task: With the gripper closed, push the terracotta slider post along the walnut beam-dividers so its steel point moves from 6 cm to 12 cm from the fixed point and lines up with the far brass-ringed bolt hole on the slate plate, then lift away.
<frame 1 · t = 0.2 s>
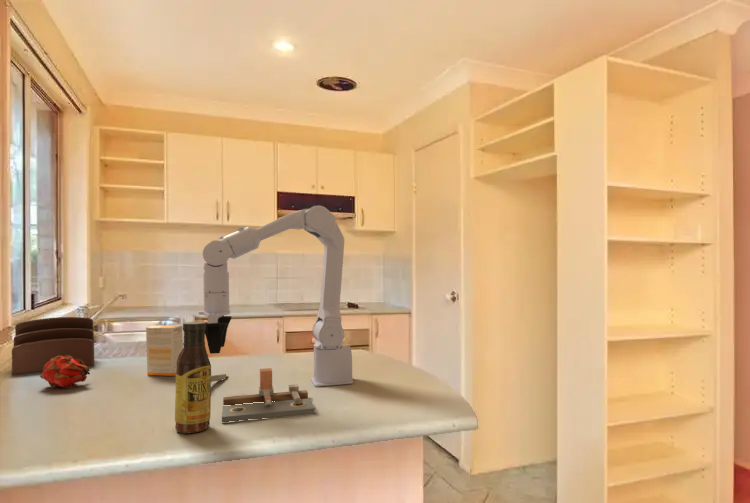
hand: (217, 349, 117), 10 cm above the countertop, fingers open, 7 cm apart
dragon fruit: (66, 387, 123), on the countertop
caliper: (208, 389, 121), on the countertop
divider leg: (266, 386, 106), point 4 cm above the countertop, slide at 0.0 cm
supplement box: (165, 374, 135), on the countertop
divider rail: (266, 401, 109), on the countertop
sauce bottle: (193, 429, 93), on the countertop
bolt plate: (268, 413, 101), on the countertop
letter holder: (55, 367, 145), on the countertop
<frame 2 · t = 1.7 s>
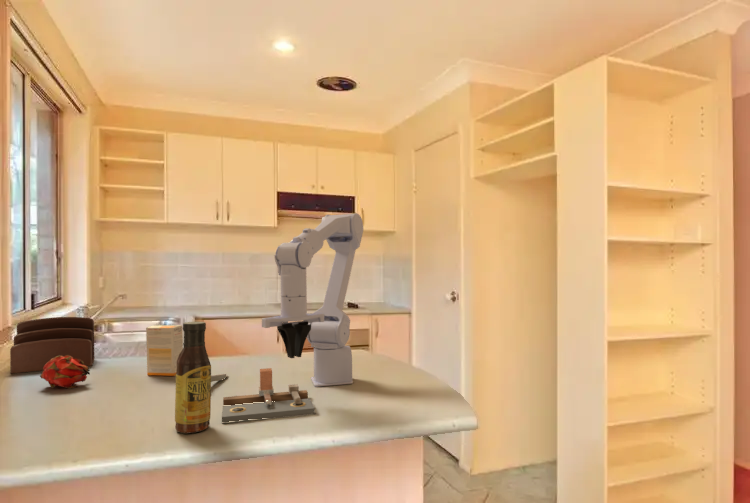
hand: (294, 357, 111), 9 cm above the countertop, fingers closed
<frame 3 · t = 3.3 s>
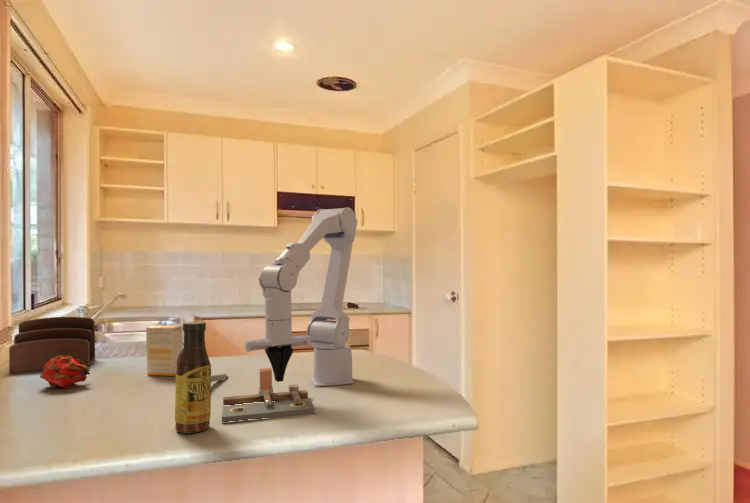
hand: (279, 380, 110), 4 cm above the countertop, fingers closed
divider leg: (266, 386, 106), point 4 cm above the countertop, slide at 0.1 cm, touching gripper
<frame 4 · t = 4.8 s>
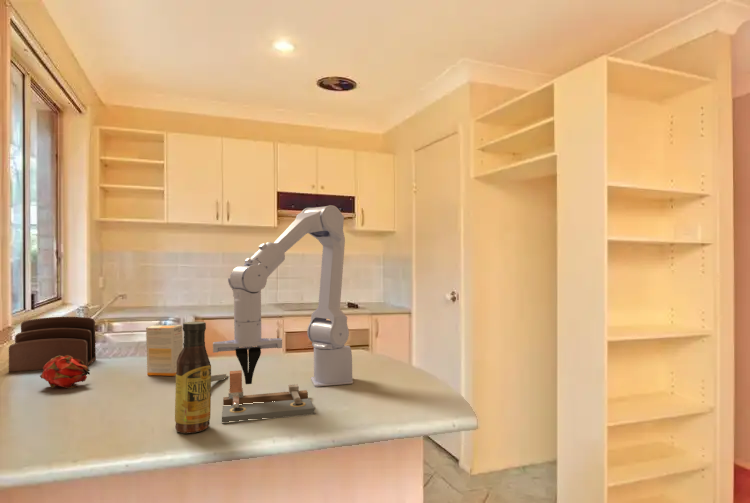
hand: (248, 383, 108), 4 cm above the countertop, fingers closed
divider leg: (235, 389, 104), point 4 cm above the countertop, slide at 6.4 cm, touching gripper
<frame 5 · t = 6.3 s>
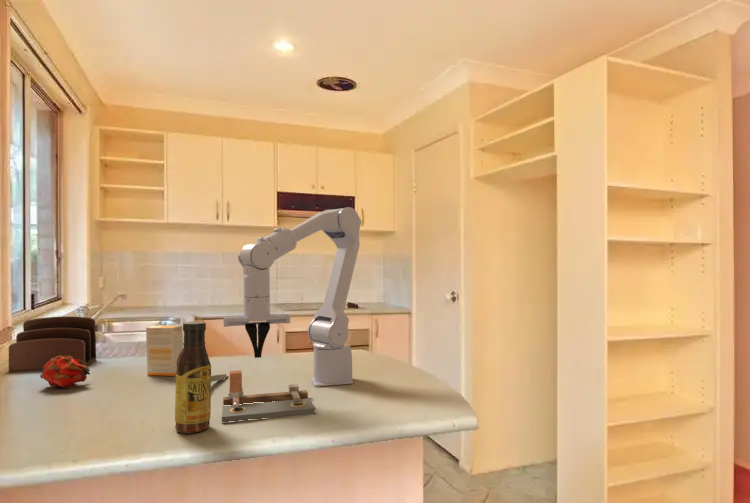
hand: (257, 356, 112), 9 cm above the countertop, fingers closed
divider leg: (235, 389, 104), point 4 cm above the countertop, slide at 6.4 cm
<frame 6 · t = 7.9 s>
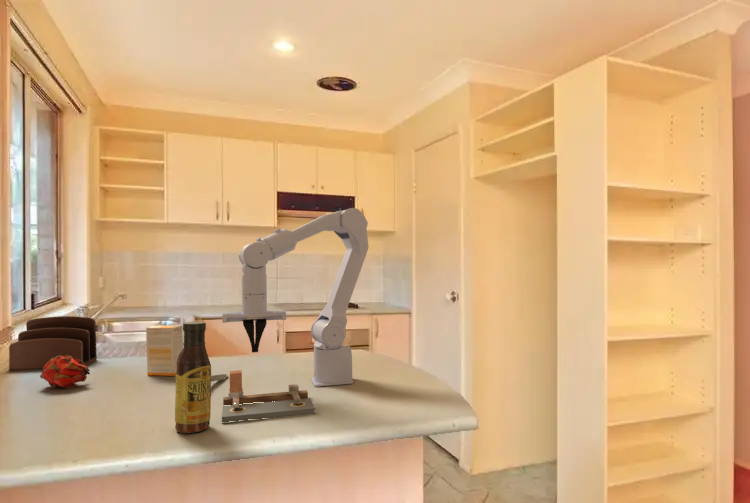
hand: (255, 351, 117), 9 cm above the countertop, fingers closed
at the end: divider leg slide at 6.4 cm; the gripper is holding nothing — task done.
